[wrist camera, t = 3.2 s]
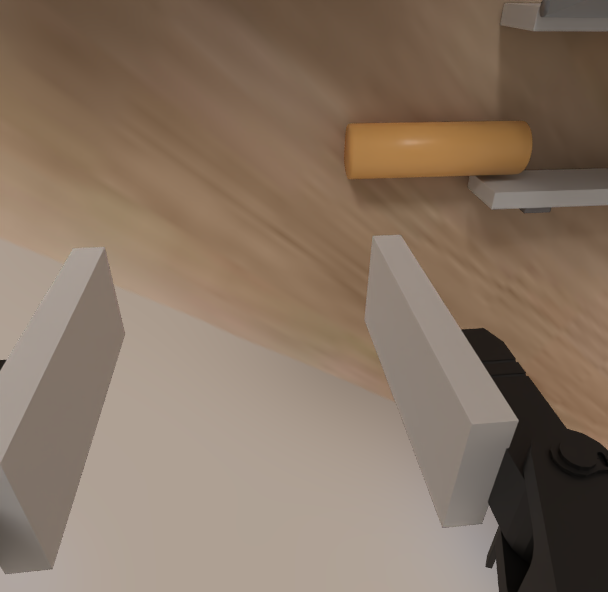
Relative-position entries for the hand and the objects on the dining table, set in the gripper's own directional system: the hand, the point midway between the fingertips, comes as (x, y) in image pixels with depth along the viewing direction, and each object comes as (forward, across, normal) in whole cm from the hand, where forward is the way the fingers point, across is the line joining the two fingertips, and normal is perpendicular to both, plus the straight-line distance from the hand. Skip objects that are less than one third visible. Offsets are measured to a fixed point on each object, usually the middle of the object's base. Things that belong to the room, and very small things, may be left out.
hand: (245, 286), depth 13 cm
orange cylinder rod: (+17, +11, 0) cm, 20 cm away
